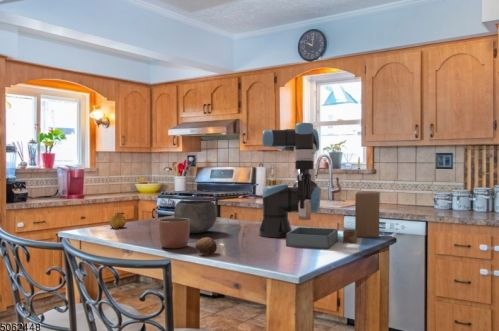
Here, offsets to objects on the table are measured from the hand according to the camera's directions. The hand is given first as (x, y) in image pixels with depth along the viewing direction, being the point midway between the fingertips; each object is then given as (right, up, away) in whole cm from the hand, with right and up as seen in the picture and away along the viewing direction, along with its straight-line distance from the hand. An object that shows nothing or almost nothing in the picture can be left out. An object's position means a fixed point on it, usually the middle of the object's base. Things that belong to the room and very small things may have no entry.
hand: (304, 215), depth 186 cm
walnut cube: (+20, -12, +2) cm, 23 cm away
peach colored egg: (0, -2, 0) cm, 2 cm away
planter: (-53, -12, -7) cm, 55 cm away
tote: (+3, -11, -1) cm, 12 cm away
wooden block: (+31, -11, +16) cm, 36 cm away
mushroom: (-39, -12, -21) cm, 46 cm away
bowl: (-49, -12, +27) cm, 57 cm away
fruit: (-92, -12, +45) cm, 102 cm away
